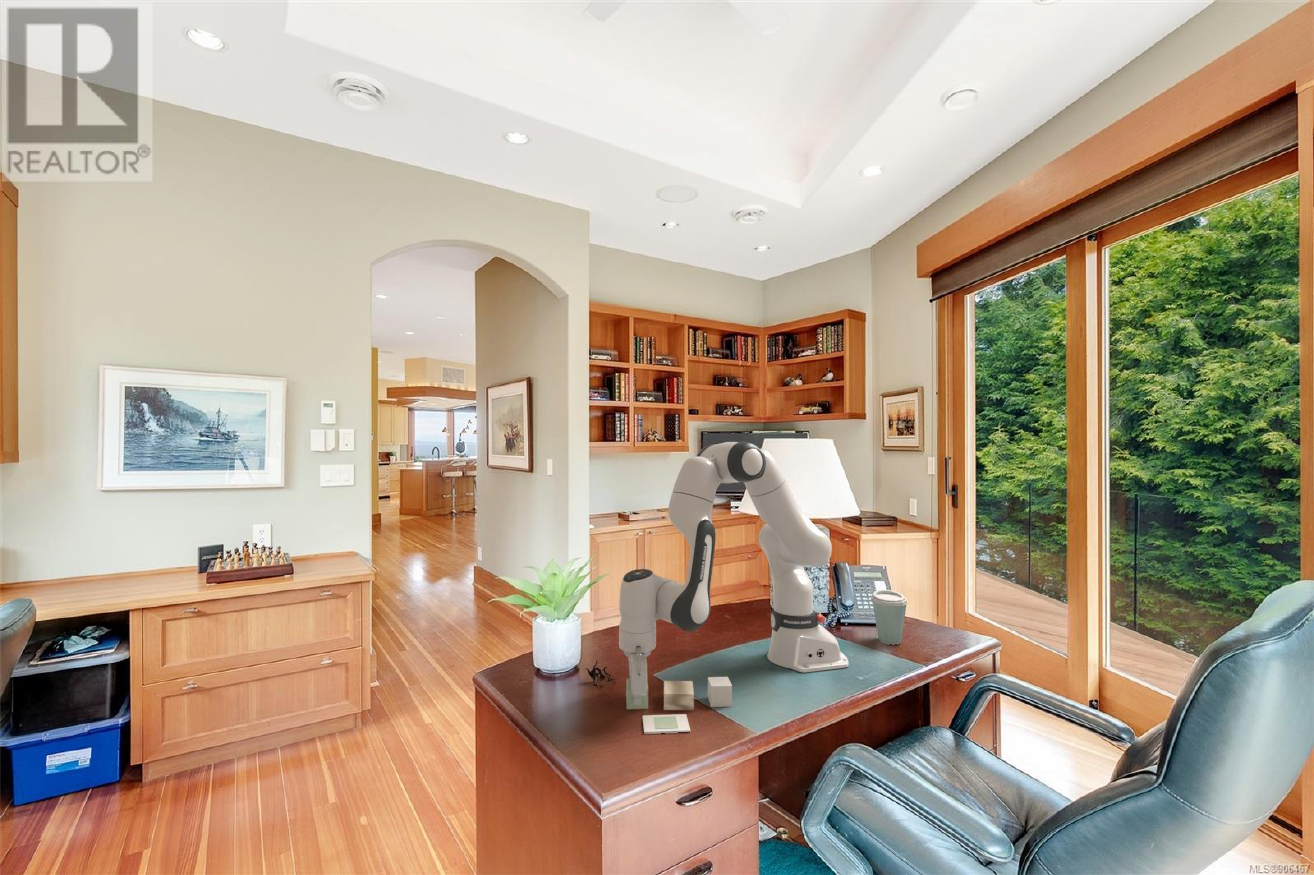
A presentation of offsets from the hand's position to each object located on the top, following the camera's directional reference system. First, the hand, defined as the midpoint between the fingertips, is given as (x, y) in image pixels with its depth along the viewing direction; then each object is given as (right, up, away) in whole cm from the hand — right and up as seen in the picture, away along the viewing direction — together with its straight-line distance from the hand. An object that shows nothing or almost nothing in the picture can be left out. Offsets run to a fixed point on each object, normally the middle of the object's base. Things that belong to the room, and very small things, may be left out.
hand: (637, 697), depth 132 cm
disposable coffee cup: (+78, -3, +42) cm, 89 cm away
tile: (+7, -2, -10) cm, 12 cm away
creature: (-9, -2, +11) cm, 14 cm away
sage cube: (0, -2, 0) cm, 2 cm away
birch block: (+10, -2, +1) cm, 10 cm away
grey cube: (+20, -2, +2) cm, 20 cm away
